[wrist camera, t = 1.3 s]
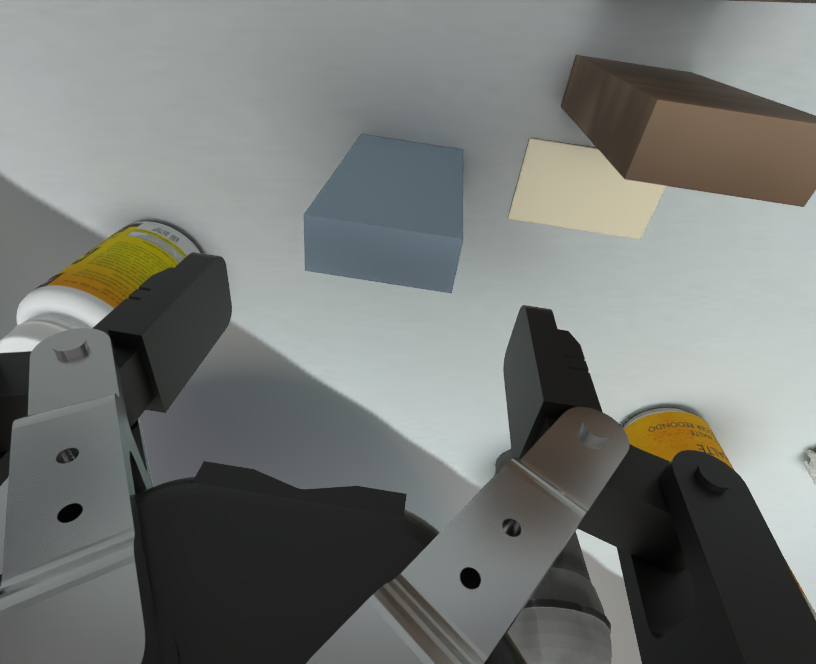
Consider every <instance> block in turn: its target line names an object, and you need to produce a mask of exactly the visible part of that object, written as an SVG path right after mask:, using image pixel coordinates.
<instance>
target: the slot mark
mask: <svg viewBox="0 0 816 664" xmlns="http://www.w3.org/2000/svg"><path fill="white" fill-rule="evenodd" d="M665 187H666V186H665V185H658V184H652V183H645V182H639V181H632V180H626V179H624V178H623V177H622V176H621V175H620V174H619V172H618V171H617V170H616V169H615V168H614V167H613V166H612V164H611V163H610V162H609V161H608V160H607V159H606V158H605V156H604V155H603V154H602V153H601V152H600V151H599V149H598V148H593V147H586V146H580V145H573V144H567V143H560V142H554V141H547V140H541V139H534V138H529V142H528V145H527V149H526V153H525V156H524V160H523V164H522V167H521V171H520V175H519V179H518V182H517V186H516V190H515V193H514V197H513V201H512V204H511V208H510V212H509V215H508V219H513V220H519V221H526V222H532V223H538V224H545V225H551V226H558V227H564V228H571V229H577V230H584V231H590V232H597V233H603V234H610V235H616V236H623V237H629V238H636V239H641V238H642V235H643V233H644V231H645V229H646V227H647V225H648V223H649V221H650V219H651V217H652V215H653V212H654V210H655V208H656V206H657V204H658V202H659V200H660V198H661V196H662V194H663V192H664V189H665Z"/></svg>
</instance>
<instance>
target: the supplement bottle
mask: <svg viewBox="0 0 816 664" xmlns="http://www.w3.org/2000/svg"><path fill="white" fill-rule="evenodd" d="M192 252H195V253H200V251H199V250H198V249H197V247H196V246H195V245H194V244H193V243H192V242H191V241H190V240H189V239H188V238H187V237H186V236H184V235H183V234H182V233H180V232H178V231H177V230H175V229H173V228H171V227H169V226H166V225H164V224H160V223H156V222H148V221H143V222H136V223H132V224H129V225H128V226H126V227H124V228H122V229H121V230H119V231H118V232H116V233H115V234H113V235H112V236H110V237H109V238H108V239H106V240H105V241H103V242H102V243H101V244H99V245H98V246H97V247H95V248H94V249H92V250H91V251H89V252H88V253H86V254H85V255H83V256H82V257H81V258H79V259H78V260H76V261H75V262H73V263H72V264H71V265H69V266H68V267H66V268H65V269H64V270H62V271H61V272H59V273H58V274H56V275H55V276H53V277H52V278H50V279H49V280H48V281H46V282H45V283H43V284H42V285H40V286H39V287H37V288H36V289H35V290H33V291H32V292H31V293H29V294H28V295H27V296H26V297H25V298H24V299H23V300H22V301H21V303H20V305H19V307H18V310H17V326H16V327H15V328H14V329H13V331H12V332H10V333H9V334H8V335H7V336H6V337H4V338H3V339H1V340H0V353H9V352H27V351H32V350H33V349H34V348H35V346H36V345H38V344H39V343H40V342H41V341H43V340H44V339H46V338H48V337H50V336H52V335H54V334H57V333H60V332H63V331H67V330H71V329H78V328H91V329H92V328H93V327H94V326H95V325H96V324H98V323H99V322H100V321H101V320H102V319H103V318H104V317H105V316H107V315H108V314H109V313H110V312H111V311H112V310H113V309H114V308H116V307H117V306H118V305H119V304H120V303H121V302H122V301H124V300H125V299H128V298H129V295H130V294H131V293H133V292H134V291H135V290H136V289H139V286H140V285H142V284H143V283H144V282H145V281H146V280H147V279H148V278H149V277H151V276H152V275H154V274H156V273H159V272H161V271H163V270H165V269H167V268H170V267H171V268H175V267H176V266H177V265H178V264H179V263H180V262H181V261H182V260H183V259H184V258H185V257H186V256H187V255H189V254H190V253H192Z"/></svg>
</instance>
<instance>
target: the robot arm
mask: <svg viewBox="0 0 816 664" xmlns="http://www.w3.org/2000/svg"><path fill="white" fill-rule="evenodd" d="M231 313H232V304H231V297H230V290H229V283H228V276H227V269H226V263H225V261H224V259H223V258H222V257H220V256H214V255H207V254H201V253H195V252H192V253H190V254H189V255H187V256H186V257H185V258H184V259H183V260H182V261H181V262H180V263H179V264H178V265H177V266H176V267H175V268H171V267H170V268H167V269H165V270H163V271H161V272H159V273H156V274H154V275H152V276H151V277H149V278H148V279H147V280H146V281H145V282H144V283H143V284H142V285H140V286H139V289H136V290H135V291H134V292H133V293H131V294H130V295H129V298H128V299H125V300H124V301H122V302H121V303H120V304H119V305H118V306H117V307H116V308H114V309H113V310H112V311H111V312H110V313H109V314H108V315H107V316H105V317H104V318H103V319H102V320H101V321H100V322H99V323H98V324H96V325H95V326H94V327H93V328H92V329H91V328H78V329H71V330H67V331H63V332H60V333H57V334H54V335H52V336H50V337H48V338H46V339H44V340H43V341H41V342H40V343H39V344H38V345H36V346H35V348H34V349H33V350H32V351H27V352H9V353H0V486H1V485H2V483H3V482H4V481H5V480H6V479H7V478H8V476H9V480H8V494H7V509H6V525H5V539H4V554H3V568H2V574H1V575H0V664H527V662H526V660H525V659H524V657H523V656H522V654H521V653H520V651H519V649H518V648H517V646H516V645H515V643H514V642H513V640H512V638H511V637H510V635H509V634H508V631H509V629H510V628H511V626H512V625H513V623H514V622H515V620H516V619H517V617H518V616H519V614H520V613H521V611H522V610H523V608H524V607H525V605H526V604H527V602H528V601H529V599H530V598H531V596H532V595H533V593H534V592H535V590H536V589H537V587H538V586H539V584H540V583H541V581H542V580H543V578H544V577H545V575H546V574H547V572H548V571H549V569H550V568H551V566H552V565H553V564H554V562H555V561H556V559H557V558H558V556H559V555H560V553H561V552H562V550H563V549H564V547H565V546H566V544H567V543H568V541H569V540H570V538H571V537H572V535H573V534H574V532H575V531H576V529H577V528H578V529H580V530H582V531H584V532H586V533H588V534H590V535H592V536H595V537H597V538H599V539H601V540H603V541H605V542H607V543H609V544H611V545H614V546H616V547H617V550H618V555H619V559H620V564H621V569H622V573H623V578H624V582H625V587H626V591H627V596H628V601H629V605H630V610H631V615H632V619H633V624H634V629H635V633H636V638H637V642H638V647H639V652H640V656H641V661H642V664H816V619H815V617H814V615H813V613H812V611H811V610H810V608H809V606H808V604H807V602H806V600H805V598H804V596H803V594H802V592H801V590H800V588H799V586H798V584H797V582H796V580H795V578H794V576H793V574H792V573H791V571H790V569H789V567H788V565H787V563H786V561H785V559H784V557H783V555H782V553H781V551H780V549H779V547H778V545H777V543H776V541H775V539H774V537H773V536H772V534H771V532H770V530H769V528H768V526H767V524H766V522H765V520H764V518H763V516H762V514H761V512H760V510H759V508H758V506H757V504H756V502H755V500H754V499H753V497H752V495H751V493H750V491H749V489H748V487H747V485H746V484H745V482H744V481H743V479H742V478H741V477H740V476H739V475H738V474H737V473H736V472H735V471H734V470H733V469H732V468H731V467H730V466H728V465H727V464H726V463H724V462H723V461H721V460H719V459H718V458H716V457H714V456H712V455H709V454H707V453H704V452H700V451H696V450H684V451H681V452H679V453H677V454H676V455H675V456H674V457H673V459H672V460H671V461H668V460H665V459H663V458H661V457H658V456H656V455H653V454H651V453H648V452H646V451H643V450H641V449H639V448H637V447H634V446H633V445H631V444H629V439H628V436H627V434H626V432H625V431H624V429H623V428H622V427H621V426H620V425H619V424H618V423H617V422H616V421H615V420H614V419H613V418H611V417H610V416H608V415H606V414H605V413H603V412H602V409H601V406H600V403H599V400H598V397H597V394H596V391H595V388H594V385H593V382H592V379H591V376H590V373H588V367H587V364H586V361H584V359H585V358H584V355H583V352H582V349H581V346H580V344H579V343H578V342H577V340H576V339H575V338H574V337H573V336H572V335H571V334H570V333H569V331H565V330H558V329H557V326H556V322H555V319H554V315H553V312H552V310H551V309H545V308H539V307H532V306H526V305H523V306H522V307H521V308H520V311H519V313H518V316H517V319H516V322H515V325H514V328H513V331H512V334H511V337H510V341H509V344H508V347H507V350H506V354H505V359H504V381H505V391H506V401H507V410H508V420H509V430H510V439H511V449H512V459H511V460H510V461H508V462H507V463H506V464H505V465H504V466H503V468H502V469H501V470H500V471H499V472H498V473H497V474H496V475H495V476H494V477H493V478H492V479H491V480H490V481H489V482H488V483H487V484H486V485H485V486H484V487H483V488H482V489H481V490H480V491H479V493H478V494H477V495H476V496H475V497H474V498H473V499H472V500H471V501H470V502H469V503H468V504H467V505H466V506H465V507H464V508H463V509H462V510H461V511H460V512H459V513H458V514H457V515H456V516H455V517H454V519H453V520H452V521H451V522H450V523H449V524H448V525H447V526H446V527H445V528H444V529H443V530H442V531H441V532H439V531H438V530H437V529H435V528H434V527H433V526H432V525H430V524H429V523H428V522H426V521H425V520H423V519H422V518H420V517H418V516H417V515H415V514H413V513H411V512H409V511H407V510H405V501H406V494H403V493H397V492H390V491H385V490H379V489H372V488H366V487H360V486H351V487H350V486H349V487H334V488H320V489H298V488H296V487H293V486H291V485H289V484H286V483H284V482H282V481H279V480H277V479H275V478H273V477H270V476H268V475H266V474H263V473H261V472H259V471H256V470H254V469H249V468H242V467H235V466H230V465H224V464H218V463H211V462H205V461H204V462H203V464H202V466H201V468H200V469H199V471H198V473H197V475H196V477H189V478H184V479H178V480H174V481H170V482H166V483H163V484H160V485H158V486H155V487H153V483H152V478H151V473H150V468H149V463H148V458H147V452H146V447H145V443H144V437H143V432H142V427H141V424H140V421H139V417H140V416H141V414H142V413H143V412H144V410H151V411H158V412H164V413H166V411H167V410H168V408H169V407H170V406H171V404H172V403H173V401H174V400H175V399H176V397H177V396H178V394H179V393H180V392H181V390H182V389H183V387H184V386H185V385H186V383H187V382H188V380H189V379H190V378H191V376H192V375H193V374H194V372H195V371H196V370H197V368H198V367H199V365H200V364H201V363H202V361H203V360H204V358H205V357H206V356H207V354H208V353H209V352H210V350H211V349H212V347H213V346H214V345H215V343H216V342H217V340H218V339H219V338H220V336H221V335H222V333H223V332H224V331H225V329H226V328H227V326H228V324H229V322H230V318H231Z"/></svg>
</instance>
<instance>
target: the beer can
mask: <svg viewBox="0 0 816 664" xmlns="http://www.w3.org/2000/svg"><path fill="white" fill-rule="evenodd" d="M623 429H624V431H625V432H626V434H627V436H628V439H629V444H631V445H633V446H634V447H637V448H639V449H641V450H643V451H646V452H648V453H651V454H653V455H656V456H658V457H661V458H663V459H665V460H668V461H671V460H672V459H673V457H674V456H675V455H676V454H677V453H679V452H681V451H684V450H696V451H700V452H704V453H707V454H709V455H712V456H714V457H716V458H718V459H719V460H721V461H723V462H724V463H726V464H727V465H728V466H730V467H731V468H732V469H733V467H732V465H731V464H730V462H729V460H728V458H727V457H726V455H725V453H724V451H723V450H722V448H721V446H720V444H719V443H718V441H717V439H716V437H715V436H714V434H713V432H712V430H711V429H710V427H709V425H708V424H707V423H706V422H705V421H704V420H703V419H702V418H700V417H698V416H696V415H694V414H691V413H688V412H686V411H684V410H680V409H676V408H657V409H652V410H648V411H645V412H643V413H640V414H638V415H636V416H635V417H633V418H632V419H631V420H629V421H628V422H627V423H626V424H625V426H624V427H623ZM733 470H734V469H733ZM785 561H786V560H785ZM786 563H787V562H786ZM787 565H788V564H787ZM788 567H789V566H788ZM789 569H790V567H789ZM790 571H791V569H790ZM791 573H792V571H791ZM792 574H793V573H792ZM793 576H794V574H793ZM794 578H795V576H794ZM795 580H796V578H795ZM796 582H797V584H798V586H799V588H800V590H801V592H802V594H803V596H804V598H805V600H806V602H807V604H808V606H809V608H810V610H811V611H812V613H813V615H814V617H815V619H816V613H815V611H814V610H813V608H812V606H811V604H810V603H809V601H808V599H807V597H806V596H805V594H804V592H803V590H802V589H801V587H800V585H799V583H798V581H797V580H796Z"/></svg>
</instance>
